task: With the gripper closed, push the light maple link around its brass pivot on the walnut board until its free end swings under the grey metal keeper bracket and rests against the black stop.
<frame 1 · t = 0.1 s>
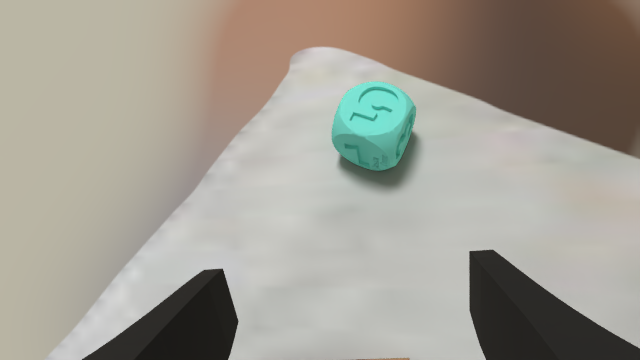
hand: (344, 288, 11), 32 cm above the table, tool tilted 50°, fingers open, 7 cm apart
decorative dice: (375, 144, 50), on the table
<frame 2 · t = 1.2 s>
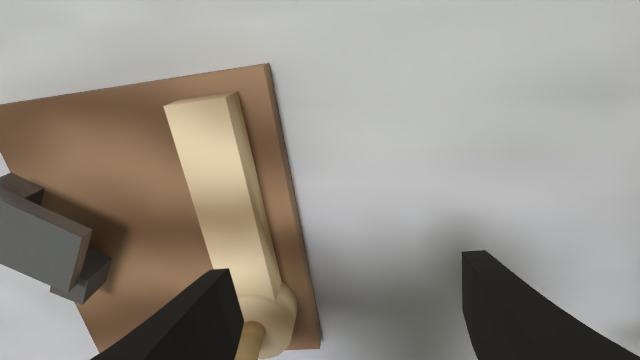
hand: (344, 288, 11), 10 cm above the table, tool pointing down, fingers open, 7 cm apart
keeper: (44, 225, 20), on the board, point 3 cm above the table
link: (232, 247, 19), point 3 cm above the table, hinge at 0.0°
stop: (81, 274, 22), on the board, point 2 cm above the table
board: (175, 230, 23), on the table
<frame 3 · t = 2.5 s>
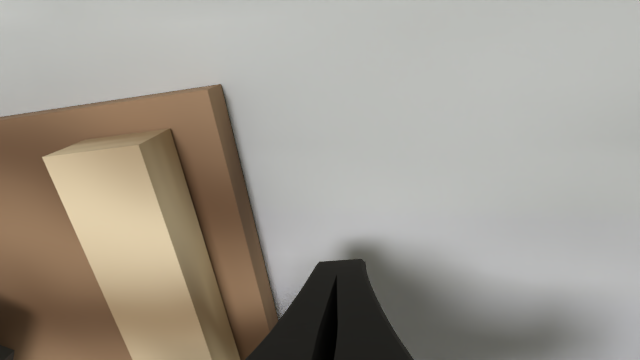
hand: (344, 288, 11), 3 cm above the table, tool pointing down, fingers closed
board: (103, 310, 17), on the table
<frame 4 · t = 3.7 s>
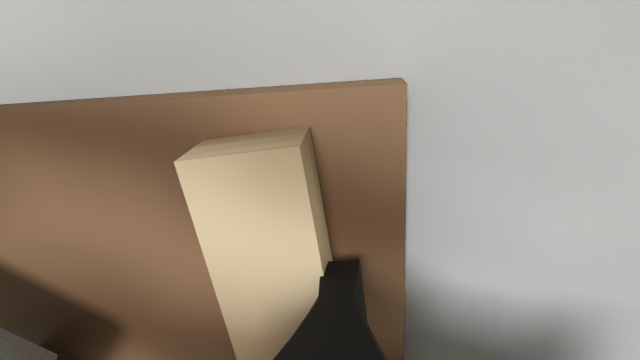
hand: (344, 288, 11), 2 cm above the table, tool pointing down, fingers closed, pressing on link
board: (195, 324, 15), on the table
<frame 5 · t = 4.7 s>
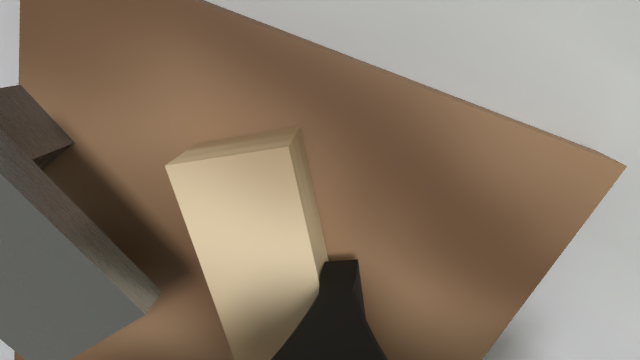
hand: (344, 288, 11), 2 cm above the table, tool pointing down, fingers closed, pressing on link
keeper: (50, 224, 10), on the board, point 3 cm above the table
board: (253, 292, 14), on the table
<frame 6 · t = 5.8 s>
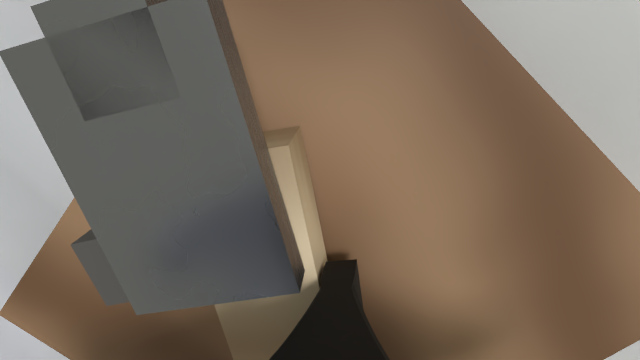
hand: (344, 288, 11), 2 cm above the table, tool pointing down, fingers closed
keeper: (197, 157, 9), on the board, point 3 cm above the table
stop: (144, 247, 11), on the board, point 2 cm above the table
board: (319, 280, 13), on the table
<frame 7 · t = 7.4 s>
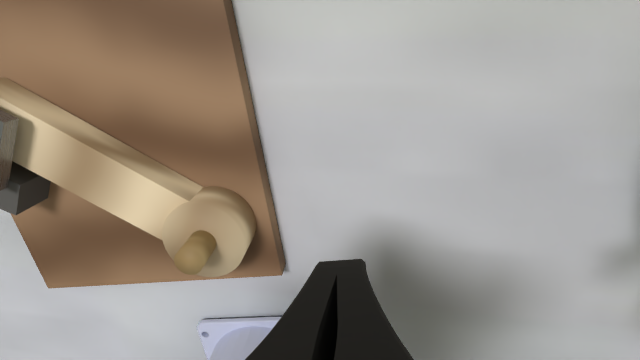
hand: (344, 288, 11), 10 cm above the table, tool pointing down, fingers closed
link: (108, 188, 19), point 3 cm above the table, hinge at 51.7°
stop: (17, 184, 20), on the board, point 2 cm above the table
board: (122, 140, 21), on the table
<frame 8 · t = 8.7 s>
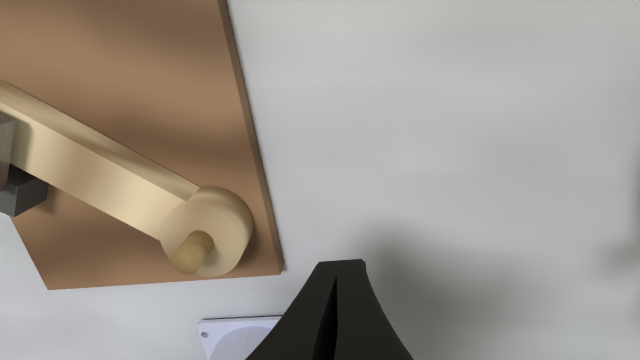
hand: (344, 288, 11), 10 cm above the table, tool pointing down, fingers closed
link: (106, 189, 19), point 3 cm above the table, hinge at 51.7°
stop: (15, 186, 20), on the board, point 2 cm above the table
board: (120, 141, 21), on the table
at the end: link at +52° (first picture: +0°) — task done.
